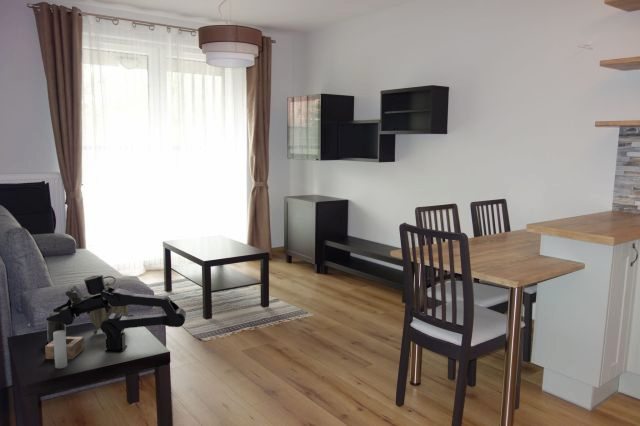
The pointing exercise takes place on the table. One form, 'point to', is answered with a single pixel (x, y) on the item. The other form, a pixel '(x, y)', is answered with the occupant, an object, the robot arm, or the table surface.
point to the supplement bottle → (54, 327)
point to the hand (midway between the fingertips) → (50, 314)
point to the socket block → (67, 347)
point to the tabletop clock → (100, 315)
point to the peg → (60, 349)
